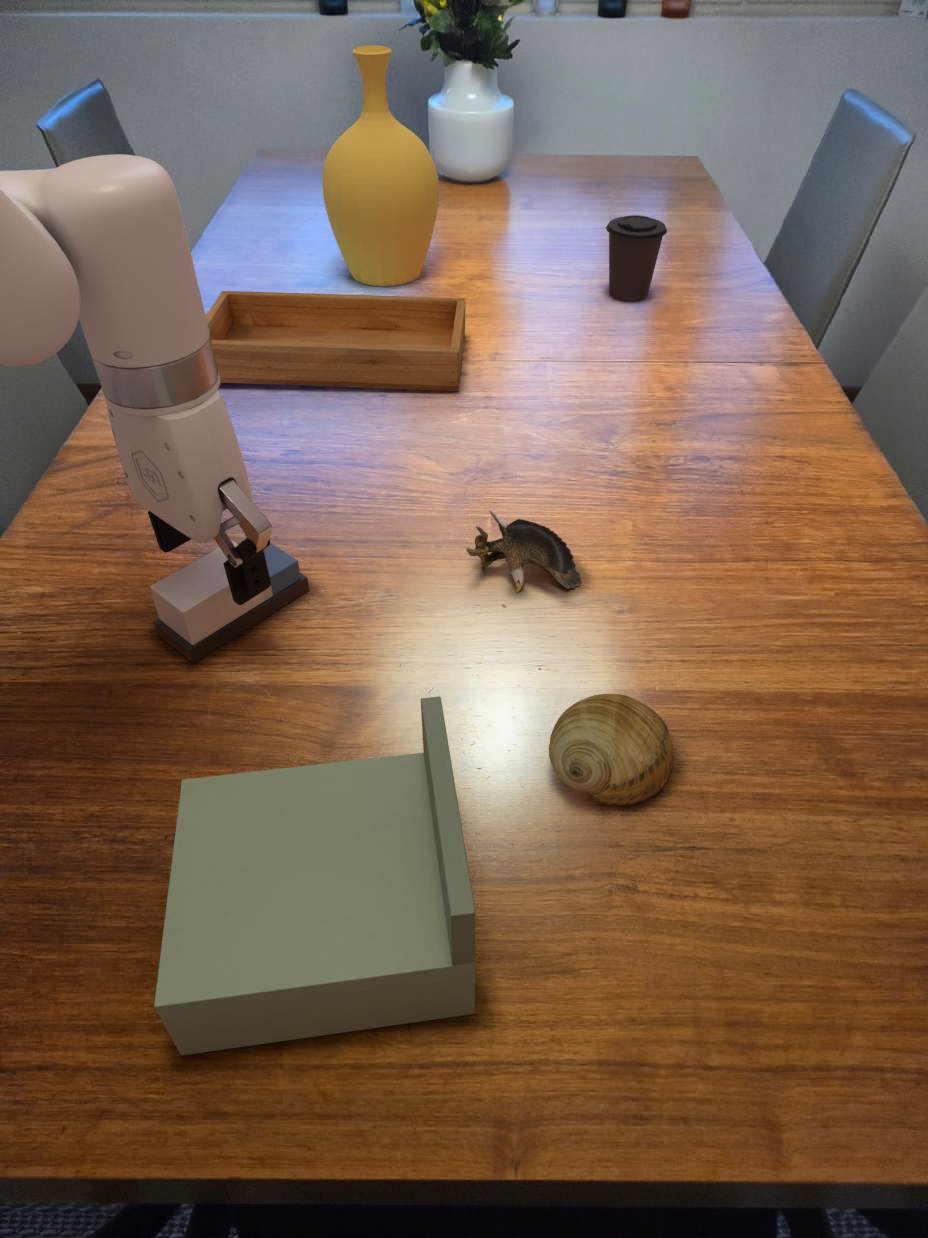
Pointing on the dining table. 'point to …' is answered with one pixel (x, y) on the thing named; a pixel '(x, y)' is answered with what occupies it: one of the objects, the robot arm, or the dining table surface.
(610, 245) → the coffee cup
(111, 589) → the dining table surface
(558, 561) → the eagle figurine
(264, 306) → the tray
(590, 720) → the seashell
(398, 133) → the vase
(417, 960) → the olive lipped platform
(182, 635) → the black base with blocks
